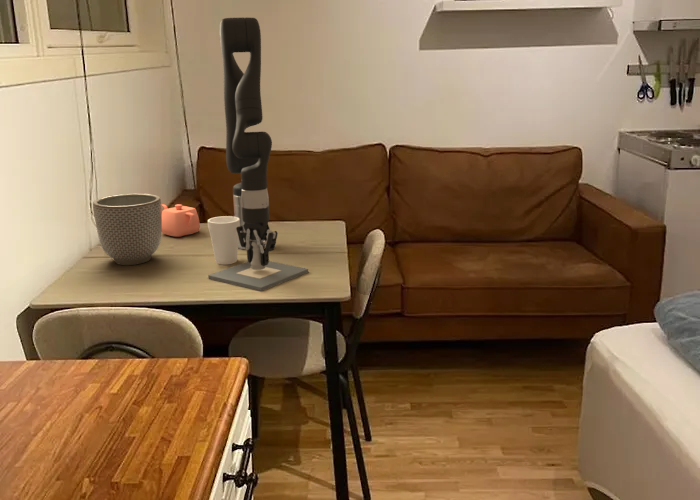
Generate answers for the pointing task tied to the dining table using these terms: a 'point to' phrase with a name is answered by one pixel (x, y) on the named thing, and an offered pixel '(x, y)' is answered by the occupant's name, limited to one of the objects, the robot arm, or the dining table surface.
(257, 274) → the board
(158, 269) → the dining table surface
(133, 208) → the planter
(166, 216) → the teapot
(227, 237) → the foam cup
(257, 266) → the rook chess piece
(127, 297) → the dining table surface
